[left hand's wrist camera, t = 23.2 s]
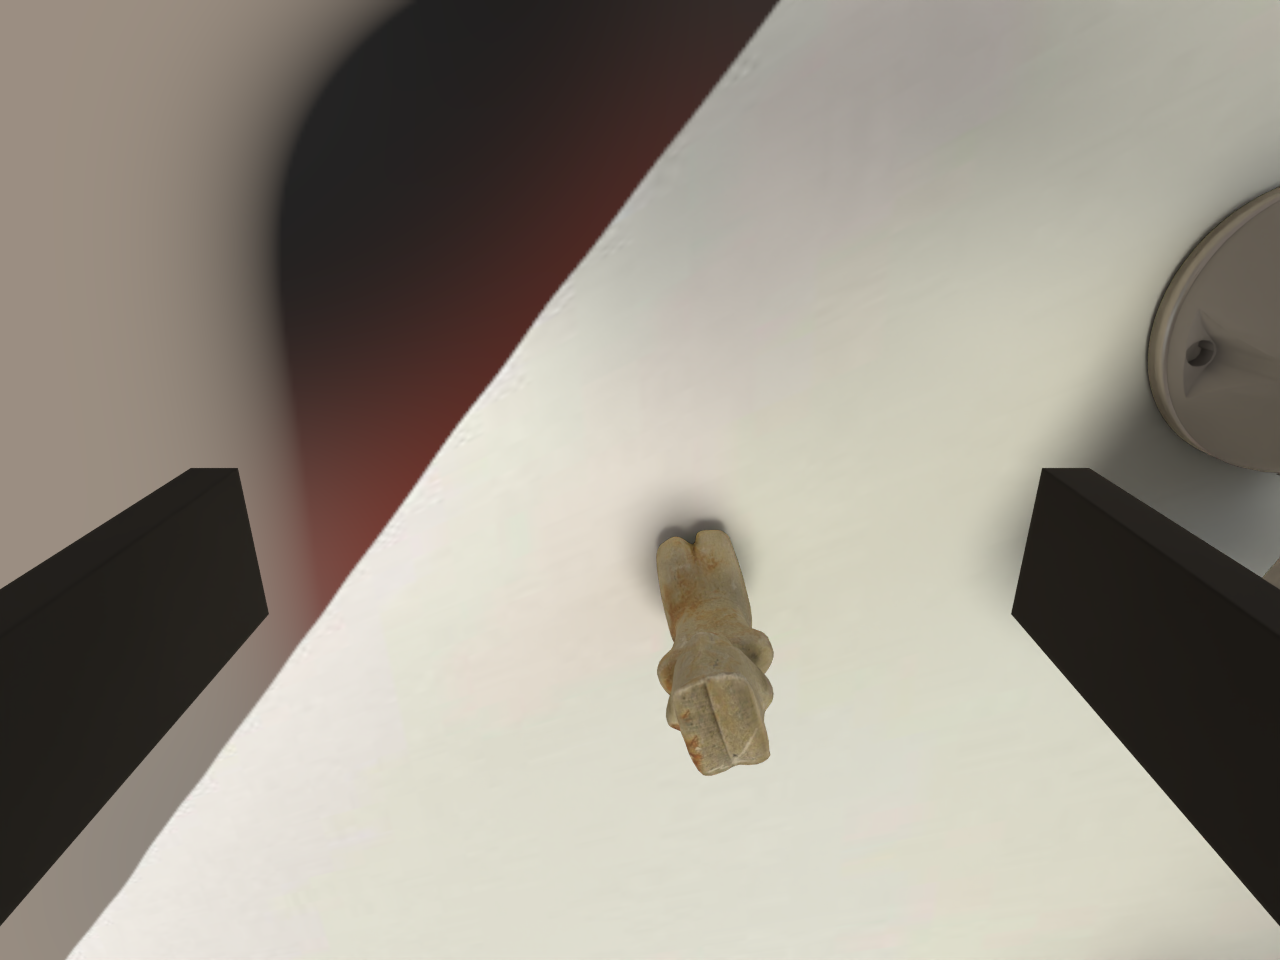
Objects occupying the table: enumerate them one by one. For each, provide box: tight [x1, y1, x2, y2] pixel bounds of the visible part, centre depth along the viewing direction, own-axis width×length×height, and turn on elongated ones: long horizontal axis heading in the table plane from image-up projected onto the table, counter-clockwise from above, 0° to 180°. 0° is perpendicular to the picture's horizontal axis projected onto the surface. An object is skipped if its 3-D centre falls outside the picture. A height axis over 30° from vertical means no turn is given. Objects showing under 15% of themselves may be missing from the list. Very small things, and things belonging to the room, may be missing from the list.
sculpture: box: [656, 530, 774, 776], centre depth 39 cm, size 6×7×15 cm
